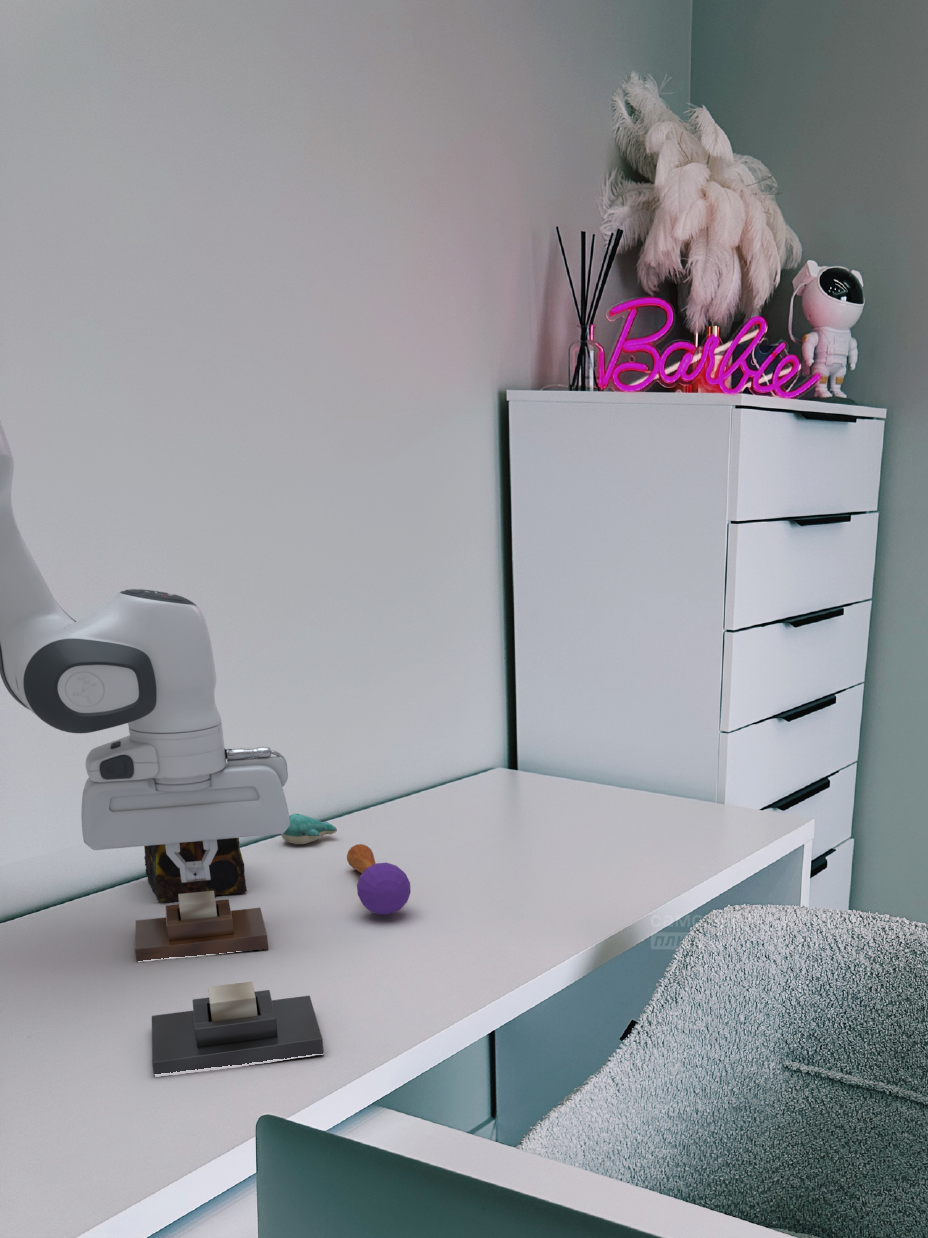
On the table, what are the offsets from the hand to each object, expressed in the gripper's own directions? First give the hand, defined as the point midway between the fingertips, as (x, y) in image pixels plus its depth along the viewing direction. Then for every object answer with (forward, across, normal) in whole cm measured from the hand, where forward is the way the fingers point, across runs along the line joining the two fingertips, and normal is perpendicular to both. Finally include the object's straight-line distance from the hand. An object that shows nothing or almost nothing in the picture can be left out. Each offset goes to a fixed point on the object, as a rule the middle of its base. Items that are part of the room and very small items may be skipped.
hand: (196, 879), depth 133 cm
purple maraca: (+7, -20, -10) cm, 23 cm away
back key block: (+7, 0, 0) cm, 7 cm away
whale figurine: (+8, -15, -35) cm, 39 cm away
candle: (+7, 0, -19) cm, 20 cm away
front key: (+4, -2, +27) cm, 27 cm away
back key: (+4, 0, 0) cm, 4 cm away
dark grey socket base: (+7, -2, +27) cm, 28 cm away
